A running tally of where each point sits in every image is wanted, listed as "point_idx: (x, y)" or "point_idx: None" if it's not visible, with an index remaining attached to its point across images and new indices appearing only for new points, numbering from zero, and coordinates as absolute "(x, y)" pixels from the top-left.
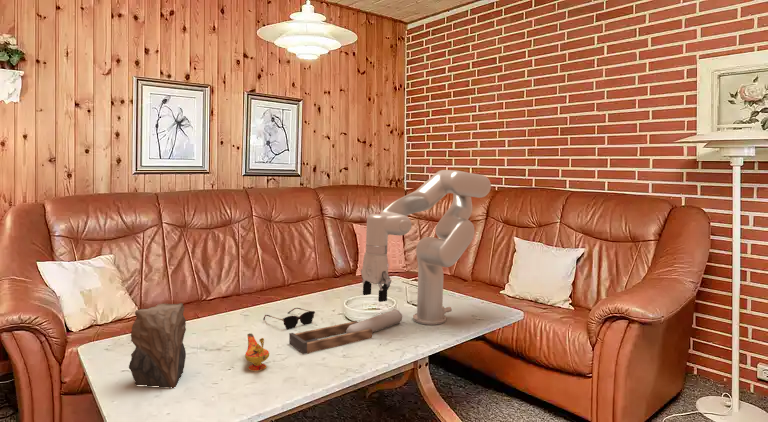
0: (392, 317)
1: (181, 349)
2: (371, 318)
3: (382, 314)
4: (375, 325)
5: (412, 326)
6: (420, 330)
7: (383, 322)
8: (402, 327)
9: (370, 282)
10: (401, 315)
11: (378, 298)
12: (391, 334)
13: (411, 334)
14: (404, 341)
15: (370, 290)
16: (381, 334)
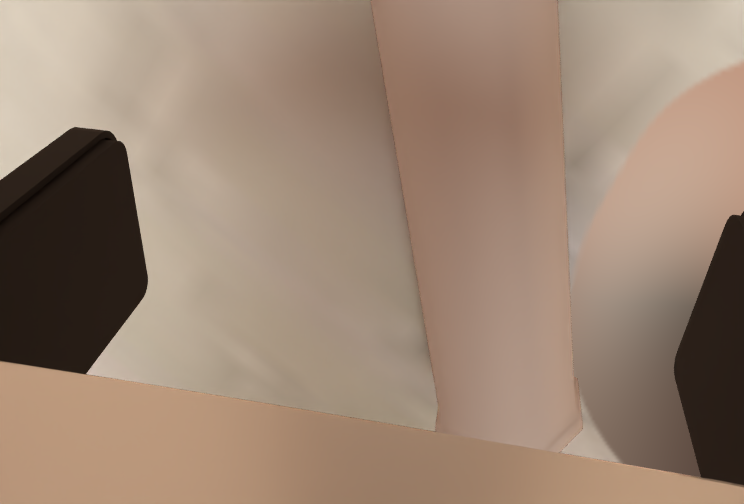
0: (429, 327)
1: None
2: (490, 77)
3: (511, 280)
4: (379, 35)
5: (340, 386)
6: (229, 364)
7: (402, 178)
8: (370, 319)
9: (223, 398)
10: (437, 426)
11: (89, 160)
12: (274, 127)
13: (186, 258)
14: (63, 97)
15: (694, 413)
16: (329, 45)
